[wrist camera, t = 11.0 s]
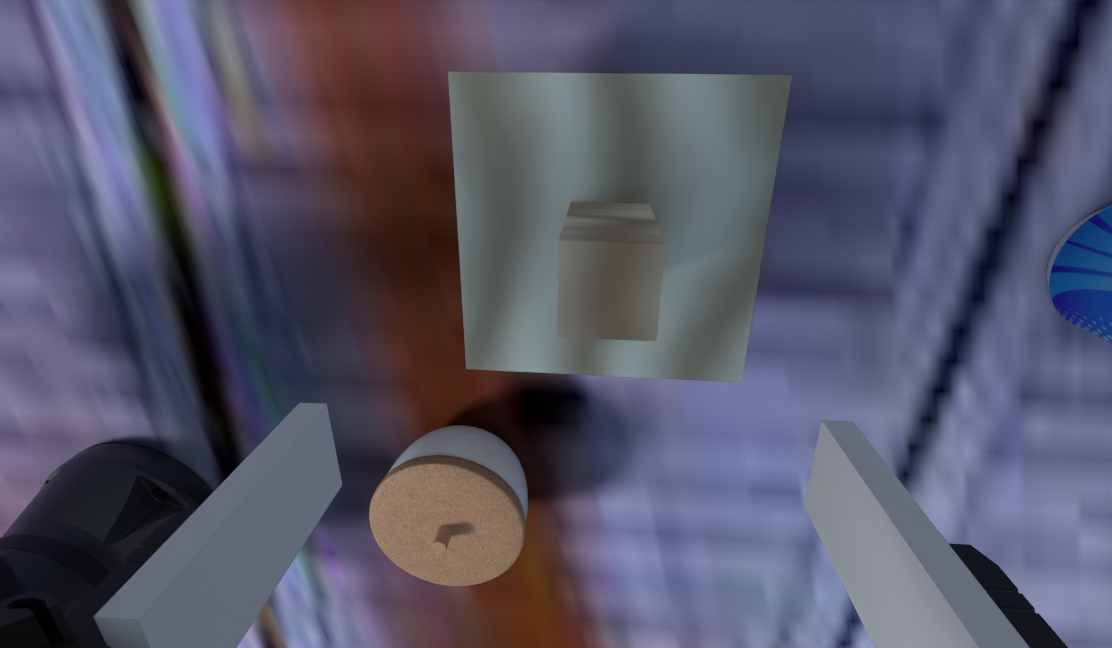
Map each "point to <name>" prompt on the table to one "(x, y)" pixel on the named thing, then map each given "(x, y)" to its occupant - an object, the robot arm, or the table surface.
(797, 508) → the table surface
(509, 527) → the lidded jar
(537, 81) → the lid
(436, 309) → the table surface
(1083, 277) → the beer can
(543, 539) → the table surface
